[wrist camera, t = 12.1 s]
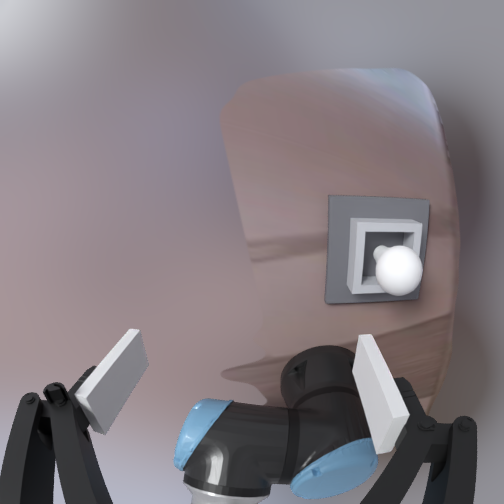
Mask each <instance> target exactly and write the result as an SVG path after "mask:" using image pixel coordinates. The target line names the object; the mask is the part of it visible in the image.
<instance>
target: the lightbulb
mask: <svg viewBox="0 0 504 504" xmlns="http://www.w3.org/2000/svg"><path fill="white" fill-rule="evenodd" d="M373 256H374V259H375V260H376V263H377V264H376V278H377V281H378V283H379V285H380V286H381V288H382V289H383V290H384V291H385V292H387V293H389V294H391V295H395V296H402V295H406V294H408V293H410V292H412V291H413V290H414V289H415V288H416V287H417V286H418V284H419V283H420V280H421V277H422V272H423V268H422V263H421V260H420V258H419V256H418V255H417V253H416V252H415V251H413V250H412V249H410V248H409V247H406V246H393V247H390V248H389V247H386V246H383V245H380V246H378V247H377V248H376V249H375V250H374V253H373Z"/></svg>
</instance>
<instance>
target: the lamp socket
mask: <svg viewBox="0 0 504 504" xmlns="http://www.w3.org/2000/svg"><path fill="white" fill-rule="evenodd" d="M428 217H429V200H427V199H414V198H397V197H376V196H345V195H328V242H327V266H326V284H325V299H324V300H325V303H357V302H378V301H396V300H412V299H418V296H419V290H420V285H421V280H420V283H419V284H418V286H417V287H416V288H415V289H414V290H413V291H412V292H410V293H408V294H406V295H402V296H395V295H391V294H389V293H387V292H385V291H384V290H383V289H382V288H381V286H380V285H379V283H378V281H377V278H376V264H377V263H376V260H375V259H374V256H373V253H374V250H375V249H376V248H377V247H378V246H380V245H383V246H386V247H389V248H390V247H393V246H406V247H409V248H410V249H412V250H413V251H415V252H416V253H417V255H418V256H419V258H420V260H421V263H422V268H423V265H424V258H425V250H426V241H427V230H428ZM421 279H422V277H421Z"/></svg>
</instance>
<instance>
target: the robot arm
mask: <svg viewBox="0 0 504 504" xmlns="http://www.w3.org/2000/svg"><path fill="white" fill-rule="evenodd" d="M148 365H149V363H148V360H147V356H146V352H145V348H144V344H143V340H142V336H141V331H140V330H136V329H129V330H128V332H127V333H126V334H125V335H124V336H123V338H121V339H120V341H119V342H118V343H117V344H116V345H115V347H114V348H113V349H112V350H111V351H110V352H109V353H108V355H107V356H106V357H105V358H104V359H103V360H102V362H101V363H100V364H99V365H98V366H92V367H91V368H89V369H88V370H86V372H85V373H84V374H83V375H82V376H81V377H80V378H79V381H77V382H76V383H75V384H74V386H73V387H72V388H71V389H70V390H69V391H68V393H67V391H66V389H65V387H64V385H63V384H62V383H58V382H55V383H52V384H49V385H47V386H46V387H45V389H44V391H43V393H44V395H45V397H46V399H47V400H41V399H40V397H39V395H38V394H37V393H33V392H31V393H27V394H25V395H24V396H23V397H22V399H21V400H20V403H19V406H18V409H17V412H16V415H15V419H14V422H13V425H12V429H11V432H10V436H9V440H8V443H7V447H6V451H5V456H4V460H3V465H2V470H1V476H0V504H53V489H54V472H55V460H56V463H57V468H58V473H59V478H60V482H61V487H62V491H63V495H64V499H65V502H66V504H113V502H112V500H111V498H110V495H109V492H108V490H107V487H106V485H105V482H104V479H103V476H102V473H101V471H100V468H99V465H98V461H97V458H96V455H95V452H94V448H93V445H92V441H91V438H90V434H89V432H88V429H87V427H88V426H89V424H90V425H91V427H92V428H93V430H94V431H95V432H98V433H101V434H104V435H106V433H107V431H108V430H109V428H110V427H111V425H112V423H113V422H114V420H115V418H116V417H117V415H118V413H119V412H120V410H121V409H122V407H123V405H124V404H125V402H126V401H127V399H128V397H129V396H130V394H131V392H132V391H133V389H134V388H135V386H136V384H137V383H138V381H139V380H140V378H141V376H142V375H143V373H144V372H145V370H146V369H147V367H148ZM281 393H282V396H283V398H284V400H285V402H286V404H287V406H288V408H281V407H270V406H261V405H252V404H245V403H238V402H234V401H233V400H229V401H225V400H217V399H203V400H200V401H199V402H198V403H196V404H195V405H194V407H193V408H192V410H191V411H190V413H189V414H188V416H187V418H186V420H185V422H184V425H183V427H182V429H181V432H180V435H179V438H178V441H177V444H176V448H175V457H174V465H175V467H176V468H178V469H179V470H180V471H185V474H184V480H183V484H184V485H185V486H186V487H187V489H188V490H189V491H190V492H191V493H192V501H191V504H258V503H259V502H261V501H262V500H264V499H266V498H267V497H268V496H269V495H270V490H271V485H272V484H290V488H291V490H292V492H293V493H294V494H295V495H296V496H298V497H302V498H305V499H319V498H327V497H331V496H335V495H339V494H341V493H344V492H347V491H349V490H351V489H353V488H355V487H357V486H359V485H361V484H362V483H364V482H365V481H366V480H367V479H368V478H369V477H371V475H372V474H373V473H374V472H375V470H376V468H377V465H378V456H377V454H381V453H386V452H391V451H392V449H393V447H394V445H395V446H396V449H397V451H396V452H395V454H394V456H393V457H392V459H391V460H390V462H389V463H388V465H387V466H386V468H385V470H384V471H383V473H382V474H381V476H380V477H379V479H378V480H377V481H376V483H375V484H374V486H373V487H372V488H371V490H370V491H369V492H368V494H367V495H366V496H365V498H364V499H363V500H362V501H361V503H360V504H400V503H401V501H402V499H403V498H404V496H405V494H406V493H407V491H408V489H409V488H410V486H411V484H412V482H413V480H414V478H415V477H416V475H417V473H418V471H419V469H420V467H421V465H422V463H423V462H424V463H431V466H430V472H429V477H428V482H427V487H426V491H425V495H424V499H423V503H422V504H473V500H474V493H475V482H476V468H477V425H476V422H475V421H474V420H473V419H472V418H470V417H467V416H460V417H458V418H457V419H456V420H455V421H454V422H453V424H441V423H437V421H436V420H435V419H434V418H432V417H430V416H426V414H425V412H424V410H423V408H422V406H421V404H420V402H419V400H418V398H417V396H416V394H415V392H414V391H413V388H412V386H411V384H410V383H409V382H408V381H407V380H406V379H405V378H403V377H401V378H394V379H393V377H392V375H391V373H390V371H389V369H388V367H387V365H386V363H385V360H384V358H383V356H382V354H381V352H380V350H379V348H378V346H377V344H376V342H375V340H374V339H373V337H372V335H371V334H366V335H359V338H358V344H357V350H356V355H355V354H354V353H353V352H351V351H349V350H348V349H345V348H342V347H338V346H318V347H314V348H310V349H308V350H305V351H303V352H301V353H299V354H298V355H296V356H295V357H293V358H292V359H291V360H290V361H289V362H288V363H287V365H286V366H285V367H284V369H283V371H282V374H281Z"/></svg>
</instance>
